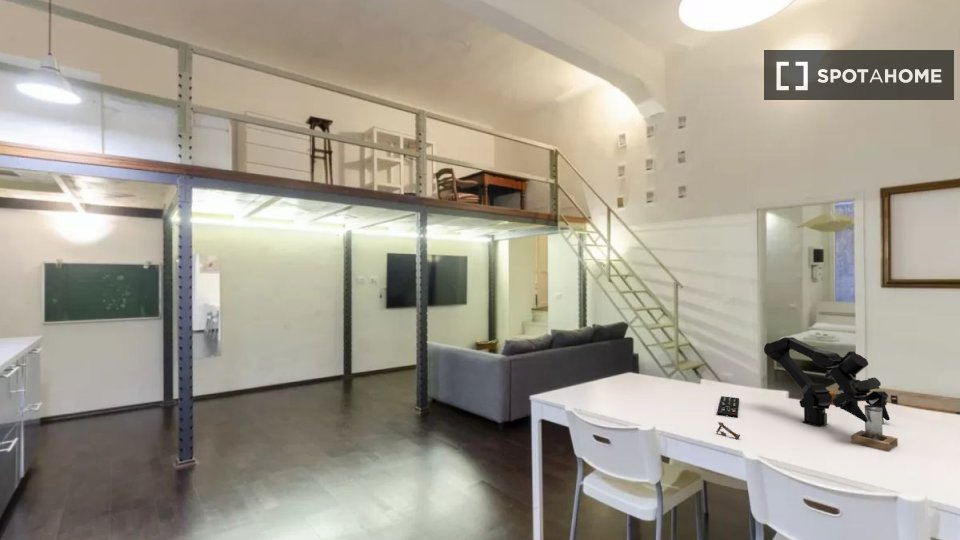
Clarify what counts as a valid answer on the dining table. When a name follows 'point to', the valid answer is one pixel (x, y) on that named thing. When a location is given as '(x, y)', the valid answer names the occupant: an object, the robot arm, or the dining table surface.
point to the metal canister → (873, 422)
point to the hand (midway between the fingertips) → (877, 420)
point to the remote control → (728, 407)
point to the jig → (874, 441)
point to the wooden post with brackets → (726, 430)
